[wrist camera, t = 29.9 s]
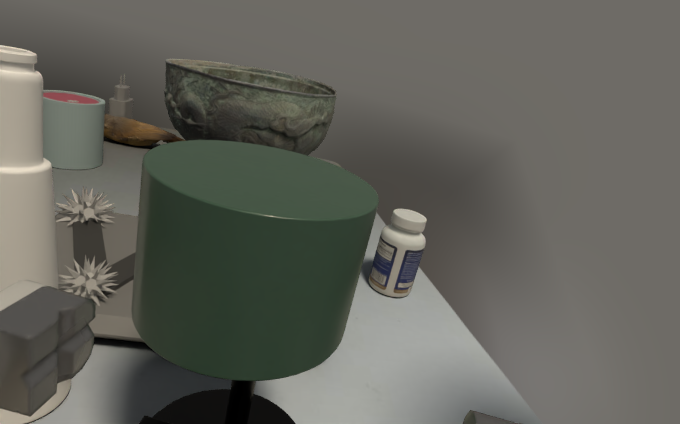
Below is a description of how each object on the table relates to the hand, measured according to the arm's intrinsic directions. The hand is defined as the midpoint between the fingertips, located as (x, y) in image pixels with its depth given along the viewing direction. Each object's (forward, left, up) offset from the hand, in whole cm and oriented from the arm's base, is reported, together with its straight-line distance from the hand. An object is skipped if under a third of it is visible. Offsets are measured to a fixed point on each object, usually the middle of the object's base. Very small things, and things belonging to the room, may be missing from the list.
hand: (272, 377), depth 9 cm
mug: (+34, -67, -19) cm, 78 cm away
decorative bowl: (+7, -65, -19) cm, 68 cm away
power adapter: (+34, -86, -19) cm, 95 cm away
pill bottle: (-15, -40, -19) cm, 47 cm away
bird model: (+28, -80, -19) cm, 87 cm away
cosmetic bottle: (+15, -17, -19) cm, 30 cm away
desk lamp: (+1, -11, -19) cm, 22 cm away
